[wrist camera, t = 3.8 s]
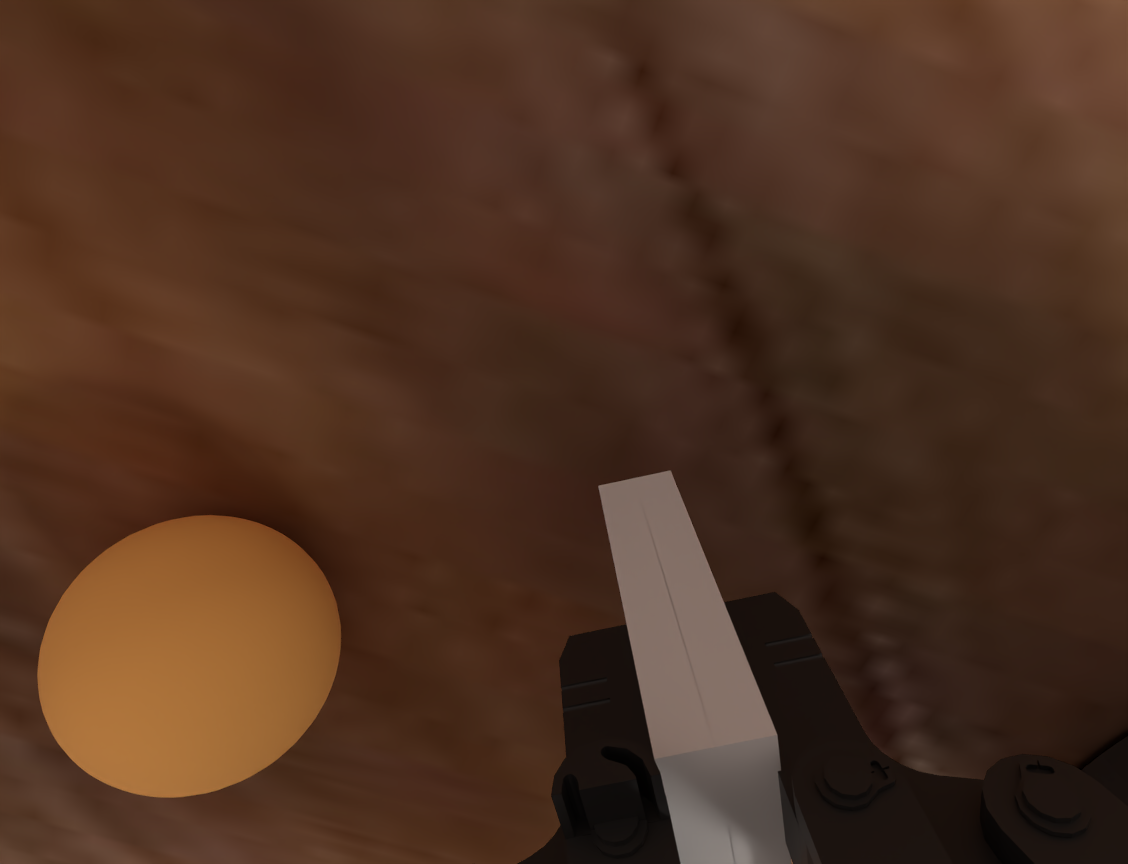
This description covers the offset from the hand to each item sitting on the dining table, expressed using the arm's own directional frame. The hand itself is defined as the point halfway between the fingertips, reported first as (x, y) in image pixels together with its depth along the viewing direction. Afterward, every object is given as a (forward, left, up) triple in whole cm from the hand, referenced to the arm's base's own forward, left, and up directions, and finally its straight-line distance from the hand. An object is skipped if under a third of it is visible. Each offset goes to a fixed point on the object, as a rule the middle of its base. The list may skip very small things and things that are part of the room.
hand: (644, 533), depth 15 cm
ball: (+9, 0, +1) cm, 10 cm away
